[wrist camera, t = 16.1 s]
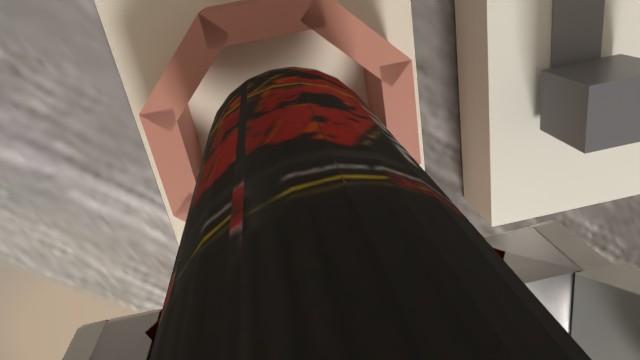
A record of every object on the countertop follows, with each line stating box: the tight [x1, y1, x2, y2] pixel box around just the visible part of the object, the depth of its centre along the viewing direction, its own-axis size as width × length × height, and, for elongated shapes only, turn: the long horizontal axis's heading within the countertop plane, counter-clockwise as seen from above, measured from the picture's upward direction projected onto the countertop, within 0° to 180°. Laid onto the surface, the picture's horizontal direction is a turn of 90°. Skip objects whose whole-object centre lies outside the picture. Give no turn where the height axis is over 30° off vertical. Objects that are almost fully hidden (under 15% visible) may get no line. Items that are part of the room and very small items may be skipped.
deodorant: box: [149, 67, 592, 360], centre depth 10 cm, size 6×6×15 cm
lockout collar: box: [94, 0, 425, 245], centre depth 19 cm, size 12×12×3 cm
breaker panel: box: [454, 0, 640, 227], centre depth 19 cm, size 16×14×4 cm
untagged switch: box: [540, 54, 640, 154], centre depth 17 cm, size 2×3×3 cm
